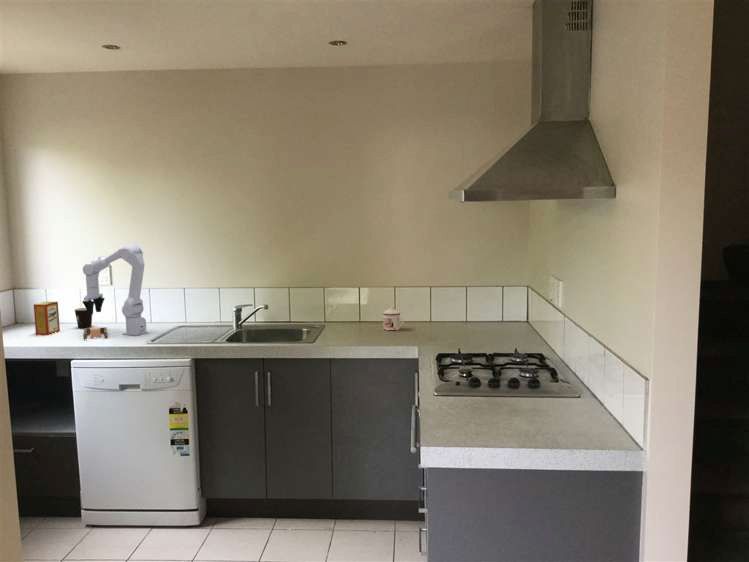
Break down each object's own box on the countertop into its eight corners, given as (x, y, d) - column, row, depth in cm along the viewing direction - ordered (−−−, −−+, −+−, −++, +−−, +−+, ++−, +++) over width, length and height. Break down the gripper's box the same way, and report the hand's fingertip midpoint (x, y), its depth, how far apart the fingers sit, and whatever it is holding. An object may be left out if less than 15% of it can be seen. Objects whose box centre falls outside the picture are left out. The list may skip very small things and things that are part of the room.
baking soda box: (47, 335, 304) (45, 303, 302) (35, 335, 305) (33, 303, 303) (59, 331, 313) (57, 300, 311) (48, 331, 314) (45, 300, 312)
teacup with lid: (379, 329, 311) (379, 307, 309) (389, 327, 318) (389, 305, 316) (398, 332, 303) (398, 309, 302) (408, 329, 310) (408, 307, 309)
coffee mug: (76, 326, 325) (74, 308, 324) (93, 325, 329) (92, 307, 327) (75, 330, 315) (74, 311, 313) (93, 329, 318) (92, 310, 317)
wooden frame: (84, 334, 304) (84, 329, 303) (107, 333, 308) (106, 327, 308) (83, 340, 292) (83, 334, 291) (107, 338, 296) (107, 332, 295)
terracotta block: (90, 336, 299) (90, 328, 299) (100, 336, 301) (100, 327, 301) (90, 338, 295) (90, 329, 295) (100, 337, 297) (100, 329, 297)
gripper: (92, 285, 316) (94, 310, 318) (77, 288, 302) (79, 315, 304) (105, 285, 316) (107, 310, 317) (90, 288, 301) (92, 315, 303)
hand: (94, 313), depth 310 cm, fingers open, 7 cm apart
